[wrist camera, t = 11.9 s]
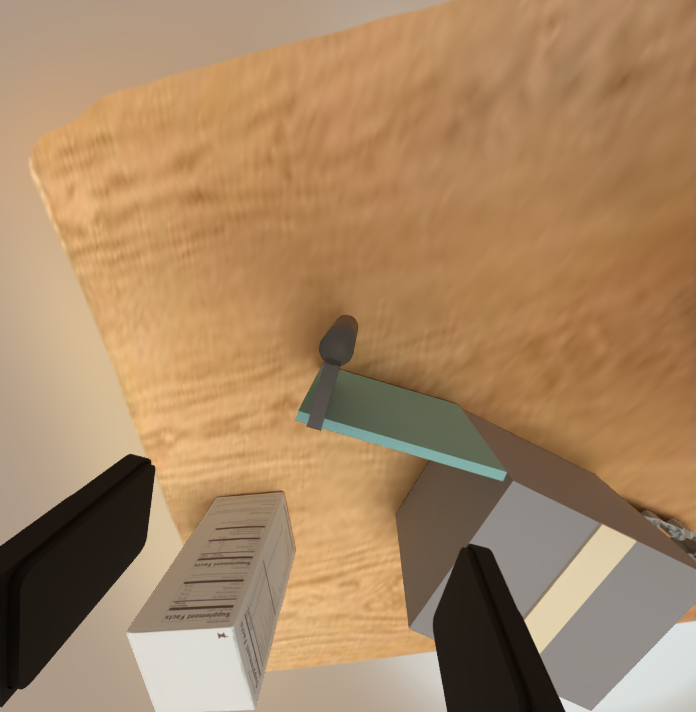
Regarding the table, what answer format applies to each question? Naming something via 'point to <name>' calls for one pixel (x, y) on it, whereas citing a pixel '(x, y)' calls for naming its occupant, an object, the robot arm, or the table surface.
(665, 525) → the egg carton
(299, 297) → the table surface
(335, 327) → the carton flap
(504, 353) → the table surface
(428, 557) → the carton
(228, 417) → the table surface
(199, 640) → the supplement box
